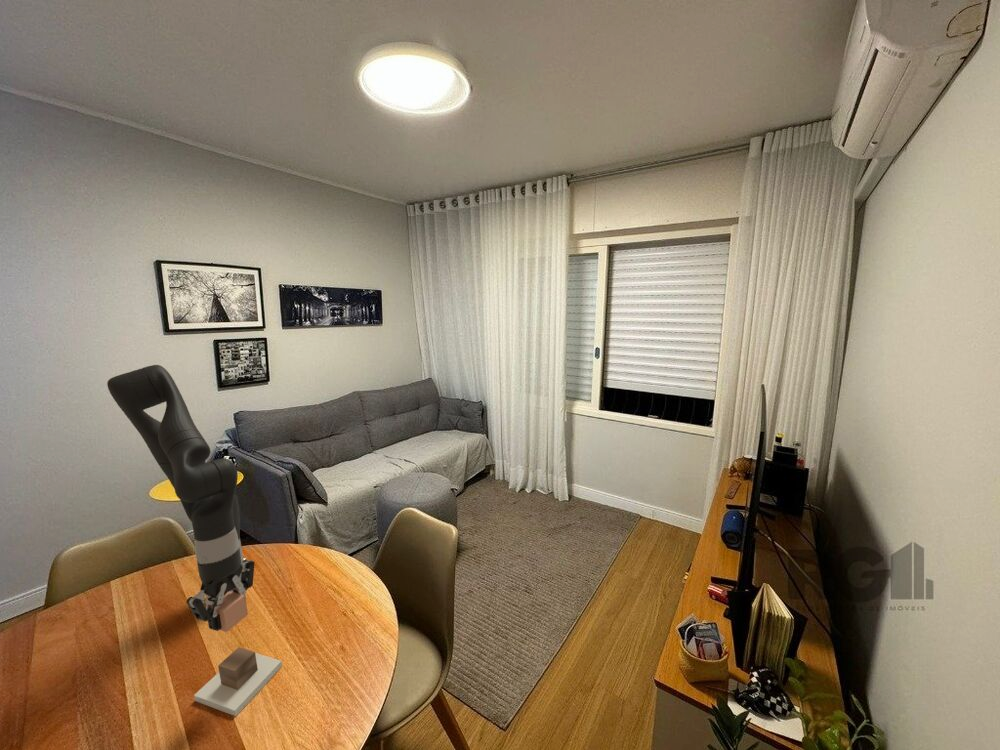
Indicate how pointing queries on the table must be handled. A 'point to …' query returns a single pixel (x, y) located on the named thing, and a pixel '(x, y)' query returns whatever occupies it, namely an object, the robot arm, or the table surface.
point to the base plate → (238, 699)
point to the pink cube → (232, 610)
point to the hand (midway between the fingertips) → (228, 618)
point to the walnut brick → (237, 668)
